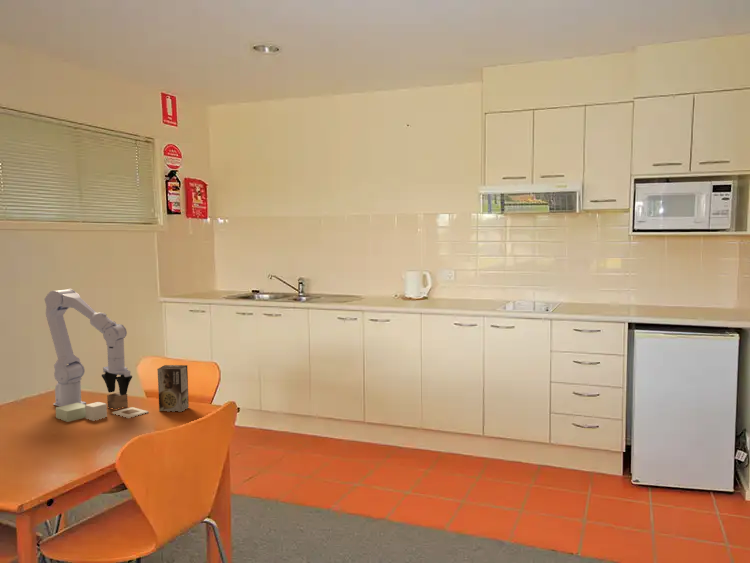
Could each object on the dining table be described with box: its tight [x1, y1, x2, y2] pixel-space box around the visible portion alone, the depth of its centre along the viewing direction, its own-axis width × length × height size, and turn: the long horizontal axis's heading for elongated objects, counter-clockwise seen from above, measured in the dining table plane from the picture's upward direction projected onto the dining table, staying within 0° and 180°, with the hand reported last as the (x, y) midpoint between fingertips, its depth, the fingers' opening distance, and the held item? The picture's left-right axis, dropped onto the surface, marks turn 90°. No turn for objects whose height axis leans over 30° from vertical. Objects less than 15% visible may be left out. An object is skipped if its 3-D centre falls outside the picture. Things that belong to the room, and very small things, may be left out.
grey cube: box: [84, 401, 108, 422], centre depth 209 cm, size 5×5×5 cm
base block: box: [55, 403, 86, 423], centre depth 210 cm, size 8×8×4 cm
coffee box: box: [157, 364, 190, 413], centre depth 219 cm, size 9×6×16 cm
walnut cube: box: [106, 391, 129, 410], centre depth 222 cm, size 5×5×5 cm
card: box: [111, 406, 149, 419], centre depth 214 cm, size 10×8×1 cm
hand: (117, 393), depth 222 cm, fingers open, 7 cm apart
